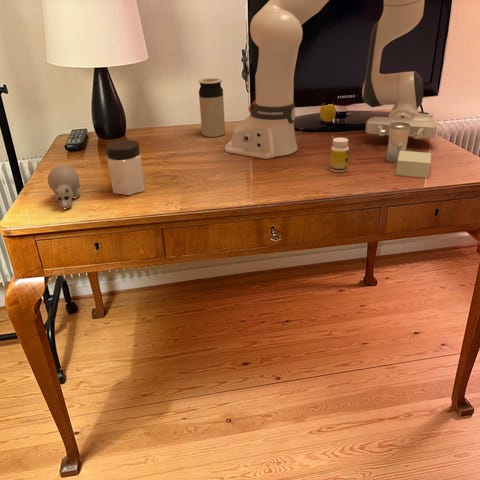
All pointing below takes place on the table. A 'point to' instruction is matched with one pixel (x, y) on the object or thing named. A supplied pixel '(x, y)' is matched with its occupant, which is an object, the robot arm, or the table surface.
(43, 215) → the table surface
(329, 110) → the lemon
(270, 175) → the table surface
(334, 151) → the supplement bottle
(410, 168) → the block
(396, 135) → the clear glass canister
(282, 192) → the table surface
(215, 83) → the travel mug
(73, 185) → the round bodied animal figurine
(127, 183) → the jar
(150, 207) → the table surface
